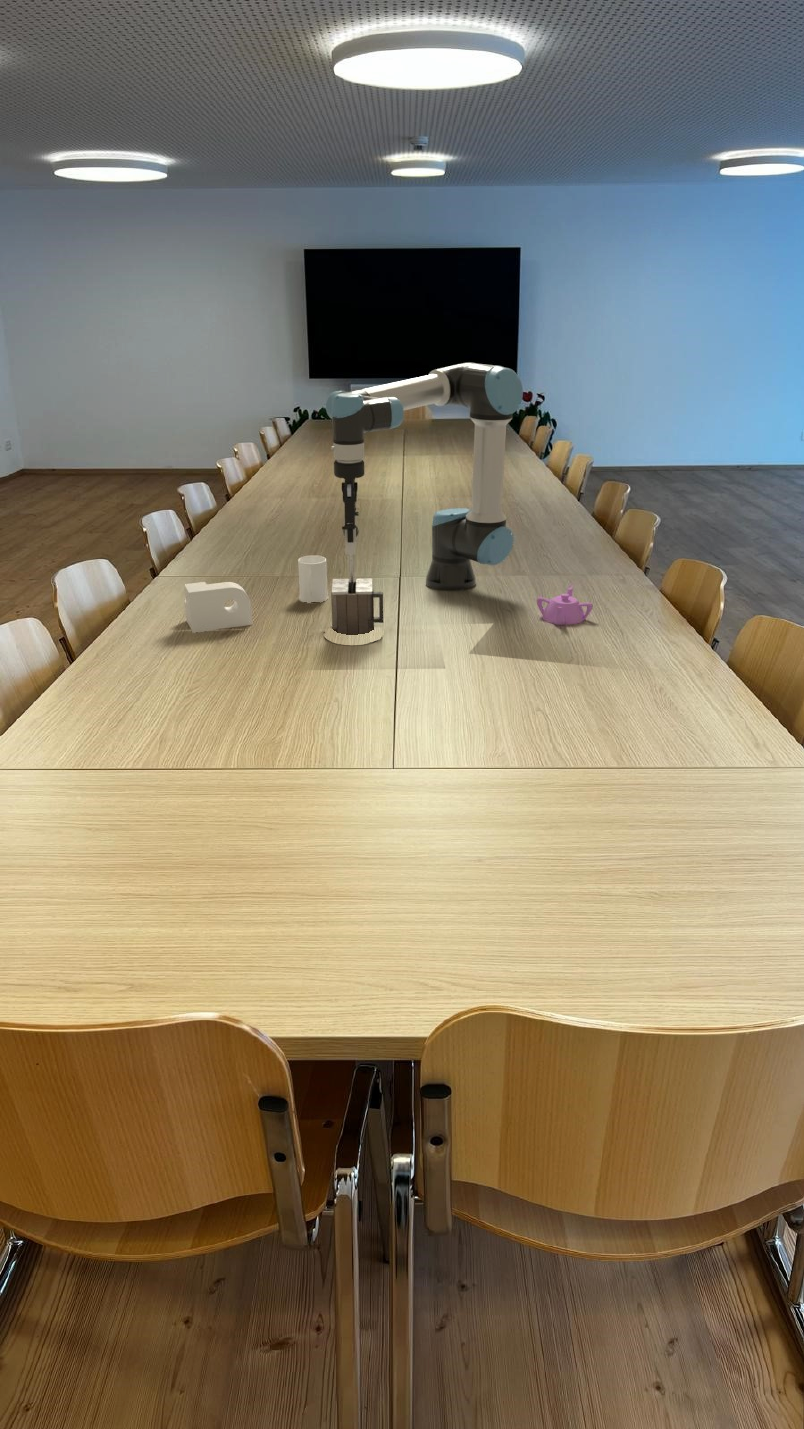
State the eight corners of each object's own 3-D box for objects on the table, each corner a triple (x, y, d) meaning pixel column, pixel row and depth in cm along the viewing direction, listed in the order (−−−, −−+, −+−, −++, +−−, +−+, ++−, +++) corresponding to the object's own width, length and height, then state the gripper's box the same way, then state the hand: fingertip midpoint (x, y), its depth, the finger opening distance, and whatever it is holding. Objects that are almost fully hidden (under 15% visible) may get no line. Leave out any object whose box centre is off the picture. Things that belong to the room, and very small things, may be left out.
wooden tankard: (383, 624, 265) (382, 577, 259) (383, 640, 254) (383, 592, 249) (332, 624, 264) (330, 578, 259) (330, 640, 254) (329, 592, 248)
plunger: (366, 597, 259) (364, 519, 250) (366, 606, 252) (364, 527, 243) (339, 597, 259) (336, 520, 249) (338, 606, 252) (335, 527, 243)
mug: (323, 608, 277) (321, 568, 272) (293, 607, 278) (291, 567, 273) (331, 594, 288) (329, 555, 282) (302, 593, 289) (300, 554, 283)
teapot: (569, 614, 273) (571, 584, 269) (595, 631, 262) (598, 600, 258) (531, 619, 269) (533, 589, 265) (556, 637, 258) (559, 606, 254)
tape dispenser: (193, 637, 258) (188, 592, 253) (186, 624, 267) (182, 580, 261) (252, 629, 263) (249, 585, 258) (244, 616, 272) (240, 573, 267)
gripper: (335, 450, 249) (337, 535, 259) (332, 470, 229) (335, 561, 239) (364, 450, 249) (366, 535, 259) (363, 470, 229) (365, 561, 239)
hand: (351, 547), depth 249 cm, fingers open, 10 cm apart
